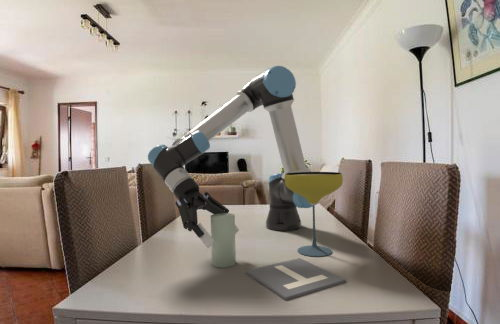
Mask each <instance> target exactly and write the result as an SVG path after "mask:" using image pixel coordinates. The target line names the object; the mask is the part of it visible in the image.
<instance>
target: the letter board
mask: <svg viewBox="0 0 500 324" xmlns="http://www.w3.org/2000/svg"><path fill="white" fill-rule="evenodd" d="M245 274H247V275H248V276H250V277H251V278H252V279H254V280H255V281H257V282H258V283H260V284H261V285H263V286H264V287H265V288H267V289H268V290H270V291H271V292H273V293H274V294H276V295H277V296H278V297H280V298H282V300H284V301H286V300H290V299H294V298H297V297H300V296H303V295H306V294H307V295H308V294H311V293H313V292H317V291H320V290H323V289H326V288H329V287H333V286H337V285H339V284H343V283H347V279H346V278H344V277H343V276H340V275H337V274H336V273H334V272H331V271H329V270H327V269H324V268H322V267H320V266H318V265H315V264H313V263H311V262H310V261H307V260H305V259H303V258H300V257H299V258H296V259H290V260H286V261H282V262H278V263H274V264H273V263H272V264H268V265H264V266H259V267H255V268H251V269H248V270H247V269H246V270H245Z"/></svg>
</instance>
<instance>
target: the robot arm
mask: <svg viewBox="0 0 500 324" xmlns="http://www.w3.org/2000/svg"><path fill="white" fill-rule="evenodd" d="M296 85H297V82H296V78H295V76H294V74H293V72H292V71H291V70H290V69H288V68H287V67H285V66H283V65H275V66H271V67H269V68H267V69H266V70H264V71H263V72H261V73H259V74H257V75H255V76H254V77H252V79H251V80H250V81H248V83H247V84H246V85H244V86H243V87H242V88H241V89H239V90H238V91H237V92H236V96H234V97H233V98H232V99H231V100H229V101H227V102H226V103H225V104H224V105H222V106H221V107H220V108H218V109H217V110H215V111H214V112H213V113H212V114H211V115H209V116H208V117H206V118H205V119H204V120H202V121H200V123H198V124H197V125H196V126H194V127H193V128H191V129H190V130H189V131H188V132H186V133H185V134H183V135H182V136H181V137H180V138H177V139H175V141H173V143H172V144H171V146H167V145H166V144H163V143H162V144H159V145H156V146H153V148H152V149H151V150H150V151H149V152H148V155H147V160H148V162H149V163H150V164H151V167H152V168H153V169H154V171H155V172H156V173H157V174H158V175H159V177H160V178H161V179H162V181H163V182H164V183H165V185H166V187H167V188H169V190H170V191H171V192H172V193H173V195H174V196H175V198H176V199H177V200H176V202H175V203H174V204H175V205H176V207H177V209H178V211H179V215H180V220H181V222H182V226H183V228H184V230H187V231H188V232H192V231H193V232H194V234H195V235H196V236H197V237H198V238H199V240H200V241H202V243H203V244H204V246H205V247H206V248H207V249H209V248H211V245H212V244H213V243H214V240H213V238H212V237H211V234H210V233H209V232H208V231H207V230H206V228H205V227H204V225H203V224H202V223H201V222H199V223H198V220H199V219H198V210H203V211H207V212H208V213H211V215H213V214H219V213H230V210H229V209H228V207H226V206H225V205H223V204H222V203H220V202H219V201H218V200H217V199H216V198H214V197H213V196H211V195H210V193H209V192H207V191H205V192H204V193H203V194H202V193H201V192H200V185H199V184H198V183H197V182H196V180H195V179H194V178H192V176H191V174H190V173H189V172H188V171H187V169H186V168H185V167H184V166H185V165H187V164H188V163H190V162H191V161H193V160H194V159H196V158H199V156H201V155H203V154H204V153H206V152H207V151H208V150H209V149H210V147H211V143H210V141H211V140H213V139H214V138H215V137H217V136H218V135H219V134H220V133H221V132H223V131H225V130H226V129H228V127H230V125H232V124H234V122H236V121H238V120H239V119H240V118H241V117H242V116H244V115H245V114H246V113H247V112H248V113H251V112H253V111H255V110H256V109H257V108H259V107H261V106H262V107H263V109H264V110H266V111H268V113H269V117H270V121H271V125H272V129H273V134H274V137H275V140H276V141H275V142H276V145H277V149H278V153H279V157H280V161H281V164H282V168H283V172H282V173H274V174H271V175H269V178H268V195H269V197H268V198H269V199H268V201H269V210H268V213H267V217H266V221H265V228H266V229H269V230H272V231H280V232H281V231H287V232H288V231H295V230H298V229H300V228H301V227H302V220H301V218H300V215H299V212H298V208H299V209H310V208H313V205H311V204H310V203H309V202H308V200H307V199H306V198H304V197H302V196H301V195H299V194H297V193H295V192H293V191H291V190H290V189H289V188H288V187H287V186H286V185H285V174H287V173H296V172H312V170H311V169H310V168H308V167H307V166H306V162H305V157H304V153H303V150H302V144H301V142H300V137H299V132H298V129H297V124H296V121H295V117H294V113H293V108H292V105H293V102H294V101H295V99H294V94H293V93H295V89H296ZM239 231H240V228H239V227H238V226H237V225H236V224H235V235H237V233H238V232H239Z"/></svg>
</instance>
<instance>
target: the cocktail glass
mask: <svg viewBox="0 0 500 324" xmlns="http://www.w3.org/2000/svg"><path fill="white" fill-rule="evenodd" d="M343 180H344V179H343V173H341V172H334V171H311V172H296V173H287V174H285V185H286V186H287V187H288V188H289V189H290V190H291V191H293V192H295V193H297V194H299V195H301V196H302V197H304V198H306V199H307V200H308V202H309V203H310V204H311V205H313V206H312V242H311V243H312V244H311V245H303V246H300V247H299V248H297V252H298V254H300V255H303V256H305V257H312V258H321V257H327V256H330V255H331V254H332V253H333V251H332V249H331V248H329V247H326V246H321V245H318V244H317V239H316V218H315V217H316V214H315V213H316V210H315V206H317V205H318V204H319V202H320V201H321V199H323V198H325V197H326V196H328V195H331V194H332V193H335V192H336V191H337V190H339V189H340V188H341V186H342V185H343Z"/></svg>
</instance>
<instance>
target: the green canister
mask: <svg viewBox="0 0 500 324" xmlns="http://www.w3.org/2000/svg"><path fill="white" fill-rule="evenodd" d="M235 220H236V218H235V214H234V213H230V212H229V213H219V214H210V236H211V237H212V238H213V240H214V243H213V244H212V245H211V246H210V248H211V265H212V267H215V268H219V269H220V268H223V269H224V268H229V267H233V266H235V265H236V263H237V256H236V251H237V250H236V234H235V225H236V221H235Z"/></svg>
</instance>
